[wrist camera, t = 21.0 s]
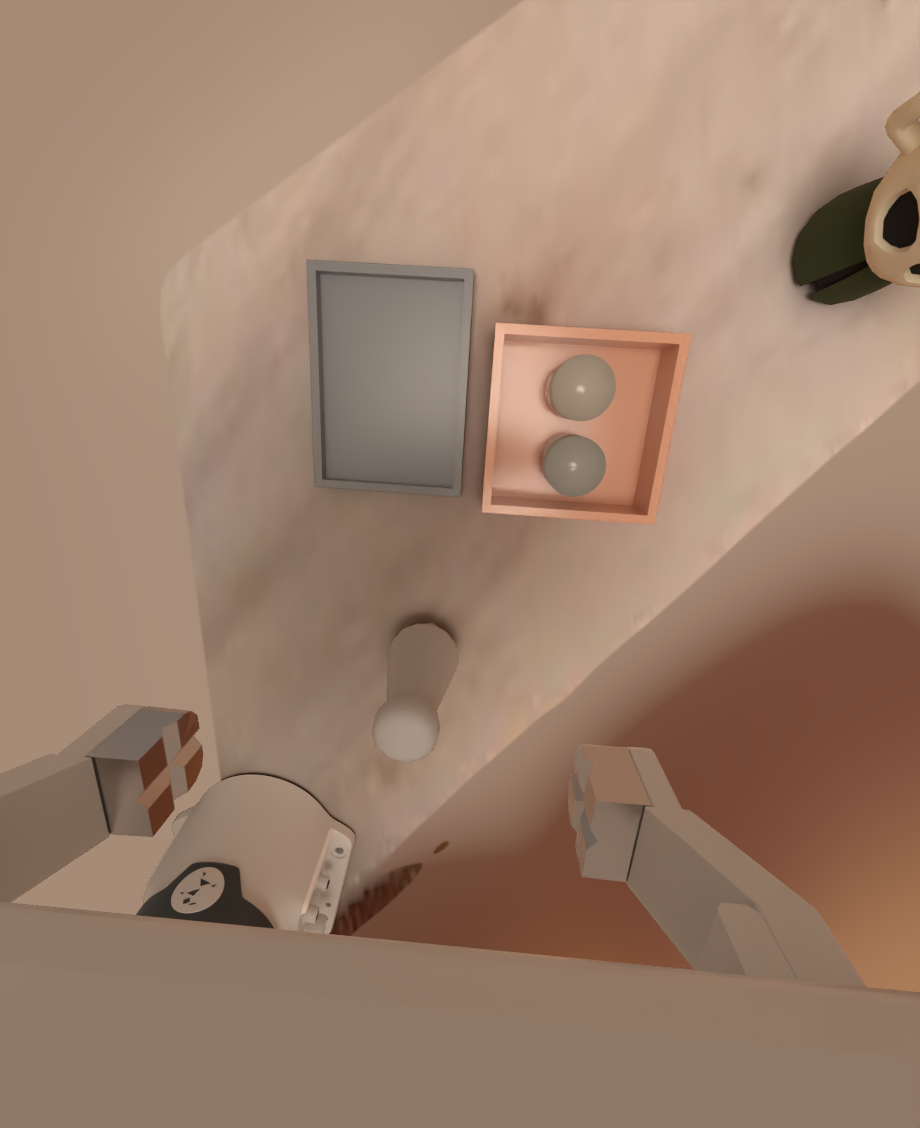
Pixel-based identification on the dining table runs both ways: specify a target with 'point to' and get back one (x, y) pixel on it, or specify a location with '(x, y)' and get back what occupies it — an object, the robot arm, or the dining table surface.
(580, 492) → the pebble
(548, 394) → the pebble
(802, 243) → the character mug
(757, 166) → the dining table surface
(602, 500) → the open box
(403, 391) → the tray
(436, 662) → the salt shaker
